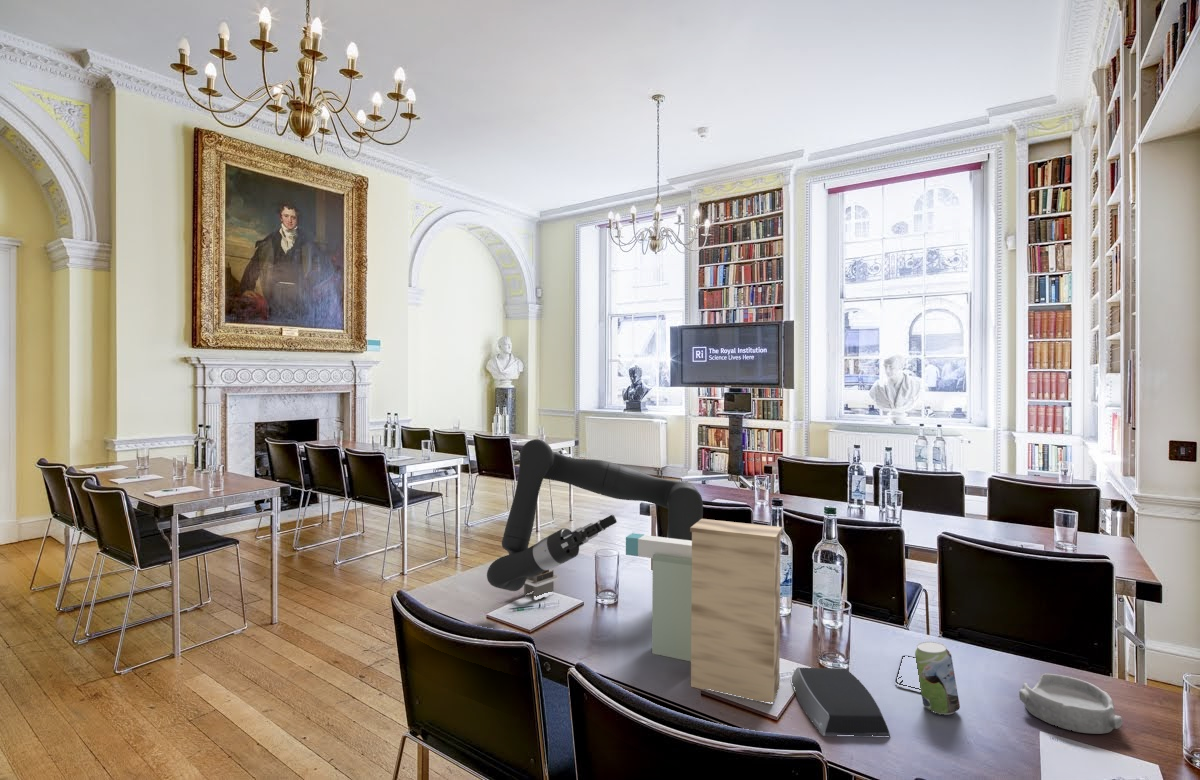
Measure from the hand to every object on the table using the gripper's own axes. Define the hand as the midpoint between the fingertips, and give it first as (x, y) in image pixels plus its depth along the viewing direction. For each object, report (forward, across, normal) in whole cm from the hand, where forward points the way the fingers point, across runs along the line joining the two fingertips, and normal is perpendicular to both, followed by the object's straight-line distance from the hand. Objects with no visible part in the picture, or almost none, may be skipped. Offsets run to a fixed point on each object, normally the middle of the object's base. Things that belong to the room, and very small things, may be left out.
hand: (607, 522), depth 141 cm
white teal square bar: (+12, 0, +14) cm, 19 cm away
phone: (+43, +10, +58) cm, 73 cm away
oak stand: (+14, -10, +40) cm, 44 cm away
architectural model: (-39, +18, +10) cm, 44 cm away
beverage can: (+45, -3, +59) cm, 74 cm away
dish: (+64, +5, +70) cm, 95 cm away
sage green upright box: (+2, 0, +33) cm, 33 cm away
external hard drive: (+30, -10, +50) cm, 59 cm away
